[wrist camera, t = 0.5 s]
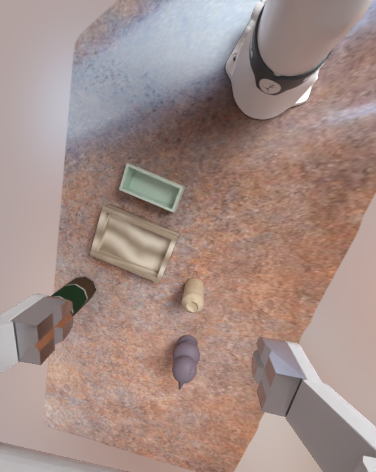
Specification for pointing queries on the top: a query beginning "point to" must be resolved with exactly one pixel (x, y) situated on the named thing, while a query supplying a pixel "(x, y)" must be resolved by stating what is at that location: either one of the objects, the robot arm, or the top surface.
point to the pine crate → (133, 243)
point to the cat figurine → (185, 359)
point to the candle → (193, 295)
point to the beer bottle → (77, 293)
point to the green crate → (151, 187)
